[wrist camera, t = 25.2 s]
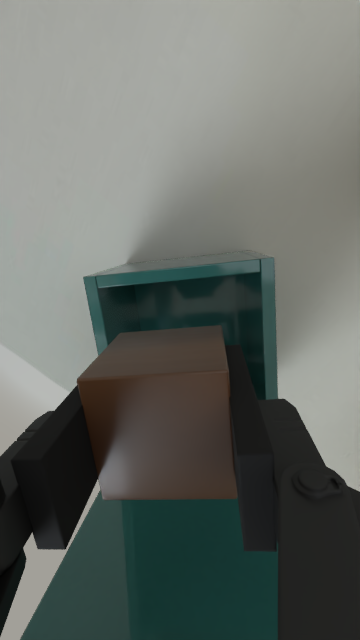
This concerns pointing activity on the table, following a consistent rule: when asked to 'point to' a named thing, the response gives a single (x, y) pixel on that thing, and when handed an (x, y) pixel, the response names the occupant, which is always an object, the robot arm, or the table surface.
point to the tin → (194, 304)
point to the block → (161, 416)
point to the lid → (160, 576)
